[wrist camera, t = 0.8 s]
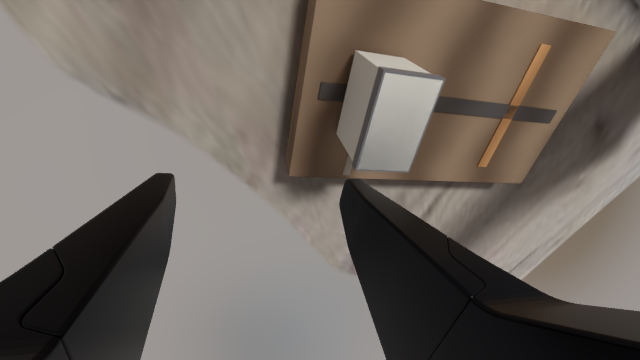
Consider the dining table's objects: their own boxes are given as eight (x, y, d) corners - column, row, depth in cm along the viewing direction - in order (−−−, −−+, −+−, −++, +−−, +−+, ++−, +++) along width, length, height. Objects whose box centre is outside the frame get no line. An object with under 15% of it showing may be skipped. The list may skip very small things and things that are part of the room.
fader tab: (406, 56, 18) (445, 78, 15) (380, 138, 21) (408, 172, 18) (354, 47, 17) (384, 70, 14) (334, 134, 20) (355, 170, 17)
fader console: (589, 26, 22) (617, 32, 21) (504, 170, 29) (521, 184, 27) (313, -38, 17) (322, -37, 15) (285, 160, 23) (289, 177, 21)
